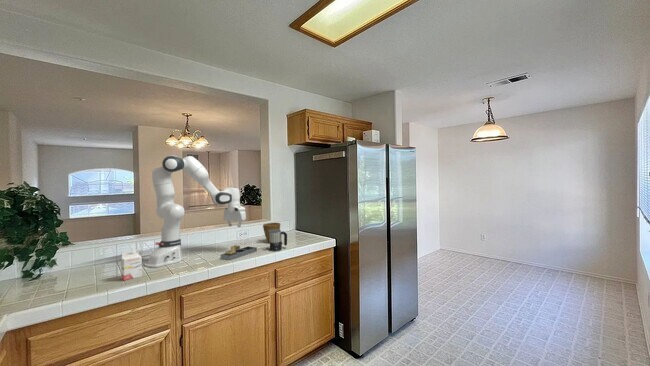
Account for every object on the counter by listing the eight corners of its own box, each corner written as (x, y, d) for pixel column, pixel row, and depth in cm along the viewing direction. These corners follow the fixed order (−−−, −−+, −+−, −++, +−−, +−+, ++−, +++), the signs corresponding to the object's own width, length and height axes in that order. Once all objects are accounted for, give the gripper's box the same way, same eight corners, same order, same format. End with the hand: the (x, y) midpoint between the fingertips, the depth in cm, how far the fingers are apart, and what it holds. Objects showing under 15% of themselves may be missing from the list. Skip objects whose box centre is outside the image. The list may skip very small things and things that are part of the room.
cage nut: (235, 253, 196) (234, 246, 196) (230, 252, 198) (230, 246, 198) (239, 251, 200) (239, 245, 200) (235, 251, 202) (235, 245, 202)
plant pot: (265, 240, 236) (265, 222, 236) (282, 240, 235) (282, 222, 235) (261, 244, 221) (260, 225, 221) (278, 244, 220) (278, 225, 220)
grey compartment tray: (230, 261, 175) (229, 256, 175) (220, 259, 180) (220, 254, 180) (256, 252, 197) (256, 247, 197) (248, 250, 202) (247, 246, 202)
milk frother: (272, 252, 196) (272, 232, 196) (263, 248, 208) (262, 229, 208) (289, 248, 205) (288, 229, 205) (279, 245, 217) (278, 227, 217)
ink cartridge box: (124, 281, 144) (123, 253, 144) (121, 279, 147) (120, 252, 147) (142, 276, 150) (141, 250, 150) (139, 274, 154) (138, 249, 154)
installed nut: (230, 259, 178) (230, 252, 178) (225, 258, 181) (225, 251, 181) (235, 257, 182) (235, 250, 182) (231, 256, 185) (230, 249, 185)
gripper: (221, 208, 201) (221, 226, 201) (240, 209, 191) (241, 228, 191) (227, 207, 207) (228, 225, 207) (246, 208, 197) (247, 226, 197)
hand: (234, 226), depth 199 cm, fingers open, 8 cm apart
